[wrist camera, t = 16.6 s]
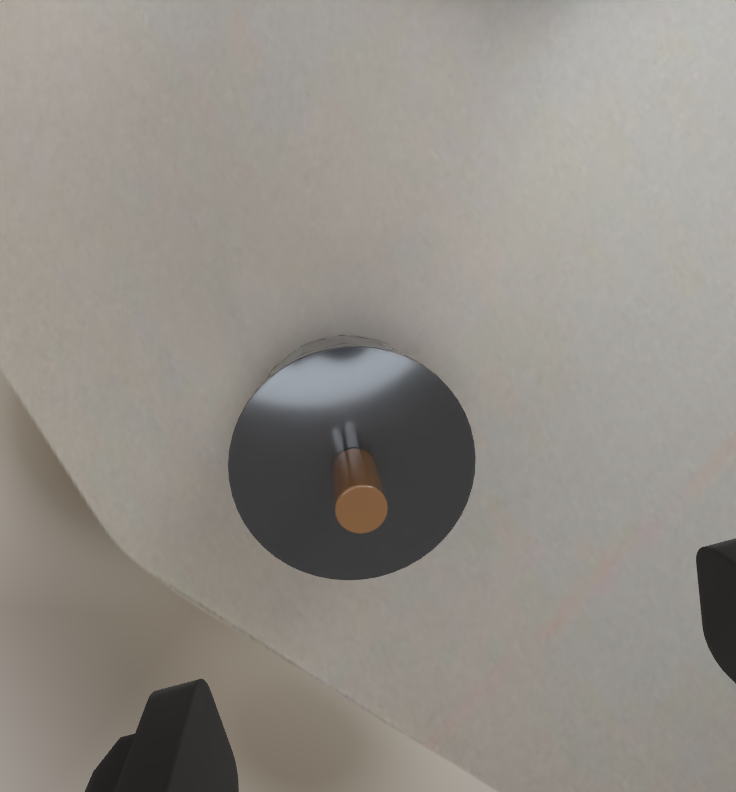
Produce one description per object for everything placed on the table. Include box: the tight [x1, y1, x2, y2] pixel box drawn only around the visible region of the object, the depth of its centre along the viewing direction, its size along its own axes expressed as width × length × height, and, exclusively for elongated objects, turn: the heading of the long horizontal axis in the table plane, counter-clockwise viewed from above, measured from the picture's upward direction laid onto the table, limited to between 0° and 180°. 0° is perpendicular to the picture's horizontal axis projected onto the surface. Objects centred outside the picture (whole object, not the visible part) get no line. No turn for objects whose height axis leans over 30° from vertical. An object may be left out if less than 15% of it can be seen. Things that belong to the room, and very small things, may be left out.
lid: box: [228, 345, 475, 580], centre depth 26 cm, size 12×12×5 cm
